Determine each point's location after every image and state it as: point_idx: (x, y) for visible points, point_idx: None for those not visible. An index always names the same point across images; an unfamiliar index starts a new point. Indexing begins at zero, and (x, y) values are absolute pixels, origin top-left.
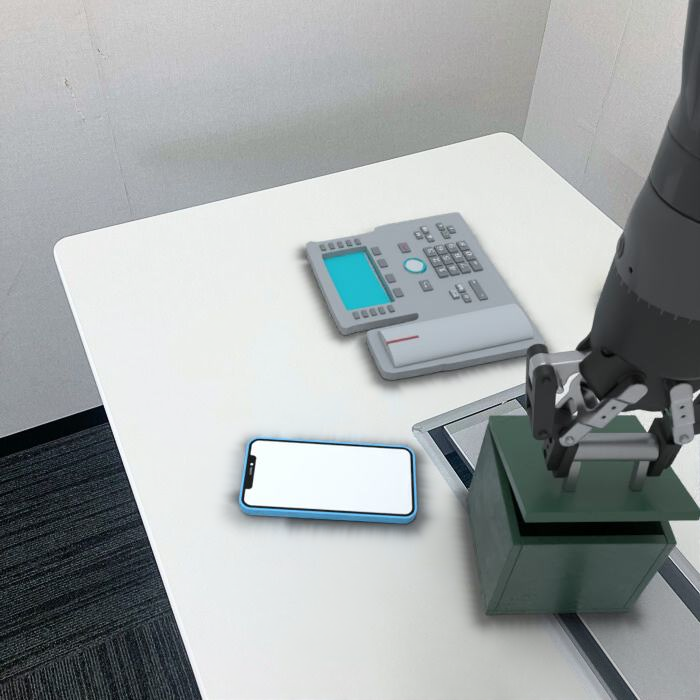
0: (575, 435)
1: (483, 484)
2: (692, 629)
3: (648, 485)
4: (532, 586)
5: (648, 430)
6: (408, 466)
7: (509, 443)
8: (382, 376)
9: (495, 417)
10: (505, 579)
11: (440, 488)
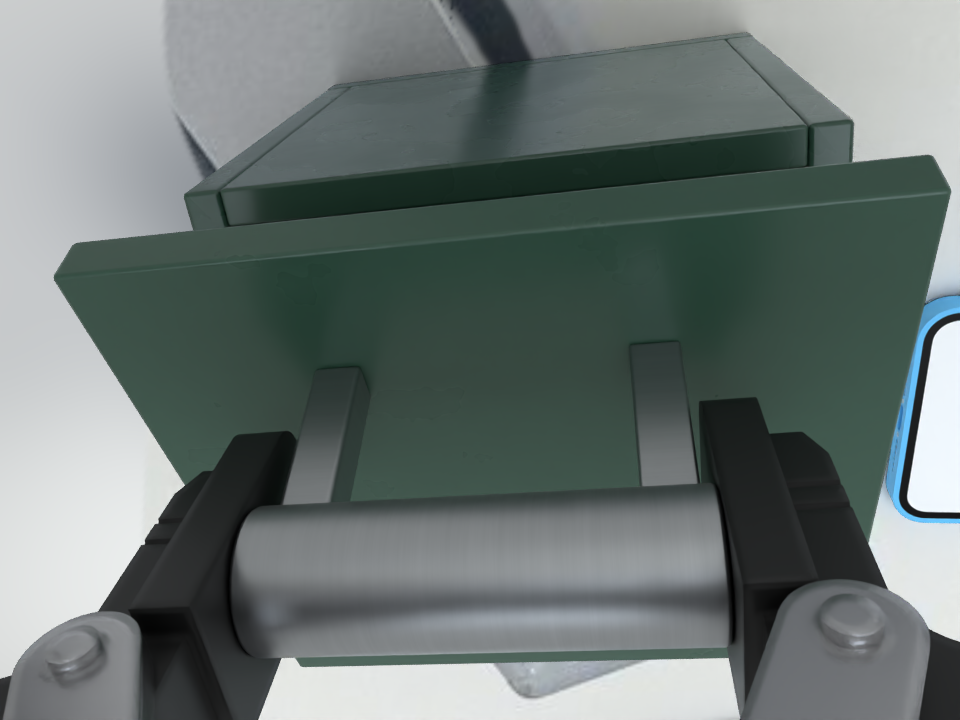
0: (836, 671)
1: None
2: (167, 52)
3: (284, 397)
4: (656, 75)
5: (278, 664)
6: (918, 463)
7: None
8: None
9: None
10: (770, 71)
11: None
